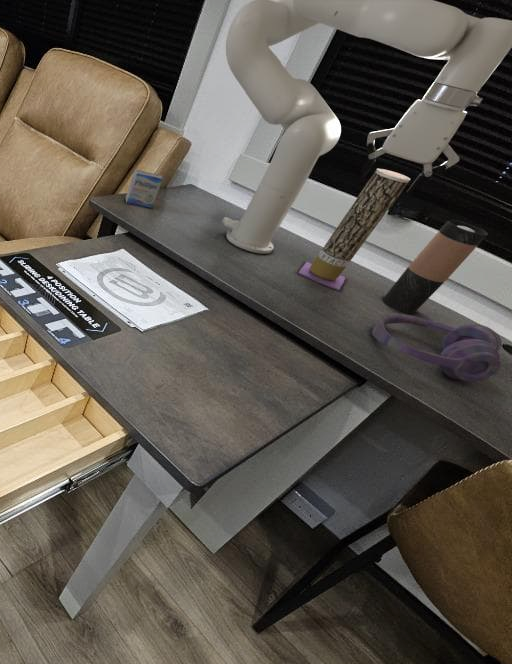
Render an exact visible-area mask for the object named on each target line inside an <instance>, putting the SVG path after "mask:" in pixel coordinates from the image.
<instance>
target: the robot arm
mask: <svg viewBox="0 0 512 664" xmlns="http://www.w3.org/2000/svg"><path fill="white" fill-rule="evenodd" d="M319 24H323V25H325V26H328V27H330V28H333V29H336V30H339V31H341V32H344V33H347V34H349V35H351V36H355V37H357V38H363V39H364V38H365V39H370V40H373V41H376V42H379V43H381V44H384V45H387V46H390V47H392V48H395V49H397V50H400V51H403V52H406V53H408V54H411V55H413V56H416V57H419V58H424V59H428V60H443V61H447V62H446V64H445V65H444V66H443V68H442V69H441V71H440V72H439V74H438V75H437V77H436V78H435V80H434V82H433V83H432V84H431V86H430V87H429V88H428V90H427V91H426V93H425V94H424V96H423V97H422V99H416V100H415V101H414V102H413V103H412V105H410V107H409V108H408V109H407V110H406V112H405V113H404V114H403V116H401V118H400V120H399V121H398V123H397V124H396V125H395V127H393V128H389V129H382V130H377V131H371V132H369V133H368V135H367V141H366V147H365V148H366V152H367V156H368V159H367V160H366V162H365V163H364V164H363V167H362V168H361V169H360V171H359V174H361V175H360V177H359V179H360V180H363V179H364V178H366V176H367V174H368V173H369V171H370V170H371V168H372V167H373V165H375V162H376V161H377V158H378V157H380V156H382V155H384V154H389V155H391V156H395V157H398V158H401V159H404V160H407V161H411V162H414V163H418V164H422V166H423V170H422V173H419V174H418V176H417V177H416V179H415V180H414V181H413V182H412V183H411V185H410V187H409V188H408V189H407V190H406V194H407V195H410V196H411V194H412V192H413V191H414V192H417V191H418V190H419V189H420V188H421V186H422V185H423V184H424V182H425V181H426V180H427V179H428V177H431V176H433V175H436V174H440V173H442V172H444V171H446V170H447V169H450V168H451V167H452V166H454V165H456V164H457V163H459V162H460V156H459V155H458V154H457V153H456V152H455V151H454V149H453V148H452V147H451V145H449V143H450V141H451V139H452V138H453V137H454V136H455V134H456V132H457V130H458V129H459V128H460V126H461V125H462V123H463V121H464V120H465V117H466V115H467V114H468V112H467V111H465V110H466V109H467V108H468V107H473V106H474V107H478V106H479V105H480V104H481V102H482V101H483V97H480V96H478V95H477V94H478V92H479V91H480V90H481V89H482V87H483V86H484V85H485V84H486V82H487V81H488V80H489V78H490V77H491V75H492V74H493V73H494V71H496V69H497V67H498V66H499V65H500V64H501V63H502V61H503V60H504V58H505V57H506V56H507V54H508V53H509V52H510V50H511V49H512V20H509V19H504V18H500V17H499V18H498V17H483V18H480V17H476V16H473V15H470V14H468V13H465V12H464V11H463V10H461V9H460V8H458V7H456V6H453V5H450V4H446V3H444V2H441V1H438V0H279V1H274V0H252V1H249V2H248V3H245V5H243V6H242V7H241V8H240V9H239V10H238V12H237V13H236V14H235V16H234V17H233V19H232V21H231V23H230V26H229V28H228V32H227V35H226V40H225V57H226V61H227V64H228V67H229V69H230V71H231V73H232V75H233V76H234V78H235V80H236V81H237V82H238V84H239V85H240V86H241V88H242V89H243V90H244V92H245V94H246V95H247V97H248V99H249V100H250V101H251V103H252V104H253V105H254V107H255V108H256V110H257V111H258V113H259V114H260V116H261V117H262V119H263V120H264V121H265V122H266V123H267V124H270V125H274V126H275V125H276V126H277V125H278V126H279V125H280V126H281V127H282V129H283V130H284V133H283V134H282V136H281V137H280V139H279V142H278V143H277V146H276V148H275V151H274V153H273V155H272V158H271V160H270V163H269V165H268V167H267V169H266V171H265V172H264V175H263V176H262V179H260V180H261V181H260V183H259V185H258V186H257V188H256V190H255V192H254V194H253V196H252V198H251V200H250V202H249V204H248V206H247V208H246V210H245V211H244V213H243V215H242V217H241V219H240V220H238V219H236V220H234V219H232V218H230V217H227V216H224V217H223V219H222V221H221V225H222V226H223V227H224V228H228V229H230V230H228V231H227V232H226V236H225V237H226V239H227V241H228V242H230V243H231V244H232V245H234V246H236V247H238V248H240V249H242V250H245V251H248V252H251V253H253V254H254V253H255V254H260V255H267V254H270V253H272V252H273V250H274V248H275V247H274V244H273V243H272V240H273V238H274V237H275V235H276V233H277V231H278V230H279V228H280V227H281V225H282V223H283V221H284V220H285V218H286V216H287V215H288V213H289V211H290V209H291V208H292V206H293V205H294V203H295V201H296V200H297V197H298V196H299V194H300V192H301V191H302V190H303V187H304V186H305V184H306V182H307V180H308V179H309V177H310V175H311V173H312V171H313V168H314V166H315V165H316V163H317V161H318V159H319V158H320V157H321V156H323V155H325V154H327V153H328V152H330V151H331V150H332V149H333V148H334V147H335V146H336V145H337V144H338V142H339V139H340V137H341V133H342V126H341V123H340V120H339V118H338V117H337V115H336V114H335V113H334V112H333V110H332V109H331V108H330V106H329V105H328V103H327V102H326V100H325V98H323V97H322V95H321V94H320V93H319V91H318V90H317V89H316V87H315V86H314V85H313V84H312V83H311V82H309V81H307V80H306V79H302V78H295V77H293V76H292V75H291V74H290V72H289V71H288V70H287V69H286V67H285V66H284V65H283V64H282V63H283V62H282V61H281V60H280V59H279V57H278V56H277V55H276V53H274V52H273V51H272V50H271V48H270V47H272V46H275V45H277V44H280V43H281V42H284V41H285V40H288V39H290V38H292V37H294V36H296V35H298V34H300V33H303V32H304V31H306V30H308V29H310V28H313V27H314V26H317V25H319ZM385 137H386V139H385V141H384V142H383V144H382V147H380V148H378V149H376V146H375V141H376V139H378V138H385ZM442 153H443V154H444V156H445V157H446V158H447V160H446V161H444V162H443V163H442V164H439V165H437V166H434V167H433V163H434V162H435V161H436V160H437V159H438V157H439V156H440V155H441V154H442Z"/></svg>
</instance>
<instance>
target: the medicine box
mask: <svg viewBox="0 0 512 664" xmlns="http://www.w3.org/2000/svg"><path fill="white" fill-rule="evenodd" d="M131 177H132V178H131V181H130V184H129V185H128V189H127V193H126V195H125V202H126V204H129V205H133V206H138V207H143V208H147V209H152V208H153V206H154V203H155V200H156V198H157V196H158V193H159V191H160V187H161V185H162V182H163V176H162V174H158V173H152V172H150V171H149V172H148V171H144V170H140V169H134V172H133V175H132V176H131Z"/></svg>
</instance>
